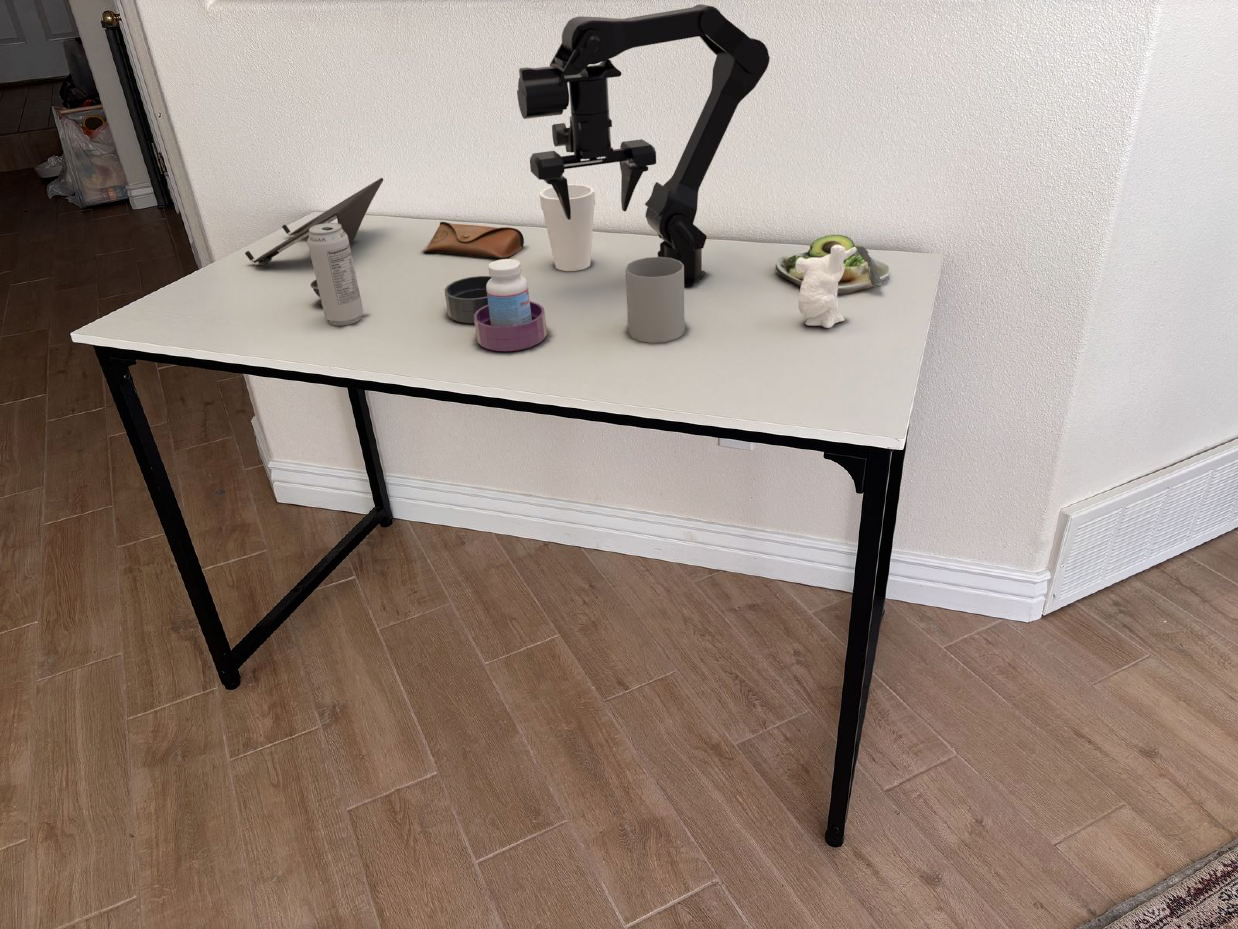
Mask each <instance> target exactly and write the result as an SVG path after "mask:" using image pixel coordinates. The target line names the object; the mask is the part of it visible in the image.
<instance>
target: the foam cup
mask: <svg viewBox="0 0 1238 929" xmlns="http://www.w3.org/2000/svg"><path fill="white" fill-rule="evenodd" d="M567 184H568V192H569V200H570V208H571V219H570V220H568V219H567V218H566V215H565V213H564V211H563V208H562V206H561V203H560V201H559V199H558V196H557V194H556V192H555V190H554V188H553V187H552V186H549V187H546V188H543V189H542V190H541V191H540V192H539V201H540V202H539V203H540V208H541V210H542V212H543V218H544V222H545V226H546V231H547V235H548V240H549V244H550V249H551V253H552V258H553V262H554V267H555V268H556V269H557V270H559V271H564V272H578V271H583V270H585V269H587V268H589V267H590V266H591V262H592V250H593V248H592V246H593V234H594V232H593V231H594V215H595V206H596V192H595V189H594V187H593V186H590V185H587V184H579V183H567Z"/></svg>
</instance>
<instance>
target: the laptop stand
mask: <svg viewBox="0 0 1238 929" xmlns="http://www.w3.org/2000/svg"><path fill="white" fill-rule="evenodd" d="M383 182H384V178H383V177H380V178H378V179H377V180H375V181H374V182H372V183H370V184H368V185H366V186H365V187H363V188H362V189H360V190H358V191H357V192H355V193H353V194H352V195H350V196H348V197H346V198H345V199H344V200H342V201H340V202H338V203H337V204H336V205H334V206H332V207H330V208H329V209H327V210H325V211H324V212H322V213H321V214H319V215H317V216H316V217H314V218H312V219H311V220H309V221H307V222H306V223H304V224H302V225H301V226H300V227H298V228H297V229H295V230H294V231H291V230H290V228H289V227H288V225H287V224H283V225H282V226H281V228H282V229H283V231H284V232H285V233H286V235H287V236H288V237H289V238H288V239H287V240H285V241H283V242H281V243H280V244H279V245H276V246H275V247H273V248H271V249H270V250H268V251H266V252H265V253H263V254H261V255H260V256H259V257H257V258H256V259H255V257H254V255H253V254H252V253H251V252H250V250H247V251H245V253H244V255H245V256H246V257H247V259H248V260H249V261H250V262H251V264H253V265H255V266H259V265H261V266H265V265H266V264H269V262H271V261H273V258H274V257H276V256H277V255H279V254H280V253H282V252H283V251H285V250H287V249H288V248H290V247H291V246H293V245H295V244H296V243H298V242H300V241H302V240H303V239H305V238H306V237H307V238H308V237H309V234H310V232H309V229H310V228H311V227H313V226H315V225H318V224H323V223H333V222H334V221H335V220H336V219H337V223H338V224H341V226H342V229H343V231H344V232H345V233H346V234H347V235H348V240H349V245H350V246H351V245H353V243H354V241H355V239H356V237H357V234H358V232H359V230H360V227H361V225H362V223H363V220H364V218H365V215H366V214H367V212H368V209H369V208H370V206H371V204H372V201H373V200H374V198H375V196H376V195H377V193H378V190H379V189H380V187H381V185H382V184H383Z"/></svg>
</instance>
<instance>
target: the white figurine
mask: <svg viewBox="0 0 1238 929" xmlns="http://www.w3.org/2000/svg"><path fill="white" fill-rule="evenodd" d="M856 251H857V249H856V247H853V248H851V249H849V250H847V251H845V248H844V247H842V246H841V245H834V246H832V247H831V254H828V255H826V256H824V257H822V258H814V257H813V258H808V259H804V258H802V257H800V258H798V259H797V260H796V265H795V266H796V271H797V272H798V273H802V272H803V276H804V279H803V282H802V284H801V286H800V289H799V293H798V298H797V305H798V310H799V312H800V314H801V315H802V316H804V317H806V318H807V319H806V321H805V325H806V326H809V327H810V326H811V327H814V326H815V327H816V326H817V327H818V326H821V327H823V328H825V329H830V328H832V327H833V326H834V325H835V324H837V323H841V322H844V321H845V318H844V316H842V315H841V314H839V313H838V312H837V311H838V307H839V300H838V295H839V294H837V292H838V282H839V281H840V279H841V278H842V276H843V273H844V269H845V267H844V263H843V261H844V260H845V259H847V258H848V257H849V256H851V255H853V254H854V253H855V252H856Z"/></svg>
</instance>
